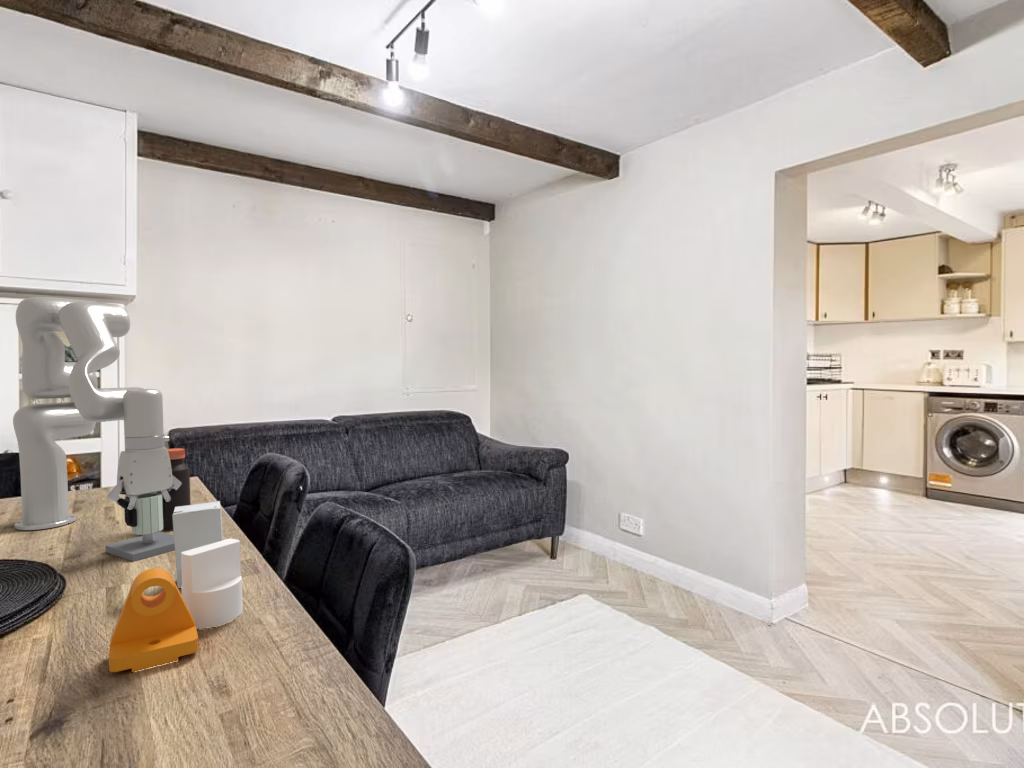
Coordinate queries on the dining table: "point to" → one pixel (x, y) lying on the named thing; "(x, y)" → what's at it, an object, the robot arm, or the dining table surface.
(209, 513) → the skincare box
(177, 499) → the bottle
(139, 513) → the sage tube
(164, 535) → the roll stand
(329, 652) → the dining table surface
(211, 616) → the cylinder with rectangular tab
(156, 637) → the bracket
